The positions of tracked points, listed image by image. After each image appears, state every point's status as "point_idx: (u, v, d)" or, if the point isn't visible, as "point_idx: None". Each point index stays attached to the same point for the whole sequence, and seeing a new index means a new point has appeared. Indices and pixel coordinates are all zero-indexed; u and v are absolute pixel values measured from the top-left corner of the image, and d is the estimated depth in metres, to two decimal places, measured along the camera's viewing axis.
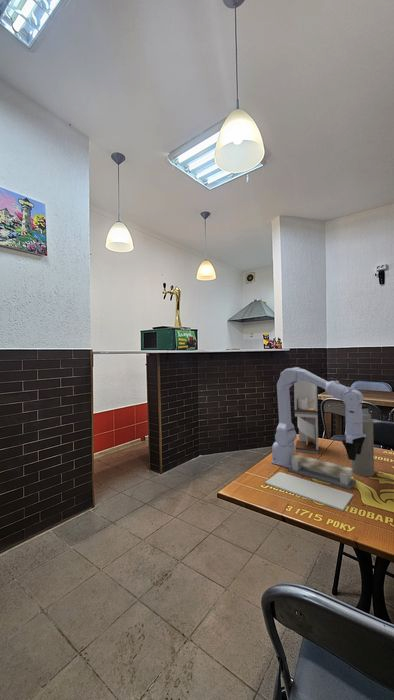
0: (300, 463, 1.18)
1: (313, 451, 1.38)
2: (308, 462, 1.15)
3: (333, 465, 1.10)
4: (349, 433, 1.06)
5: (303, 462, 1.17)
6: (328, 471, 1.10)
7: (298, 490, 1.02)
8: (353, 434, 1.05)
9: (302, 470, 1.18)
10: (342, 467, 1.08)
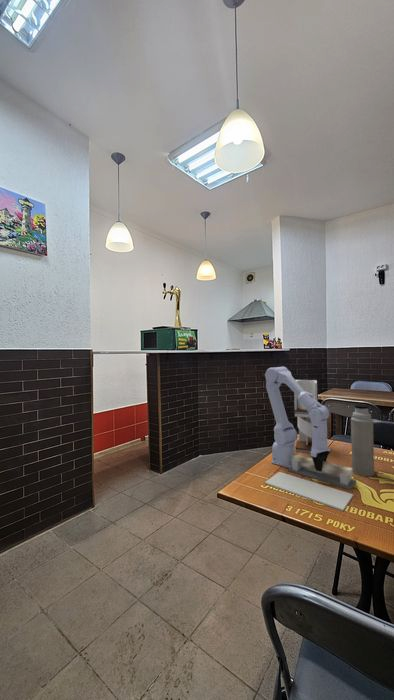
0: (300, 463, 1.18)
1: None
2: (308, 462, 1.15)
3: (333, 465, 1.10)
4: (315, 447, 1.12)
5: (303, 462, 1.17)
6: (328, 471, 1.10)
7: (298, 490, 1.02)
8: (318, 448, 1.11)
9: (302, 470, 1.18)
10: (342, 467, 1.08)
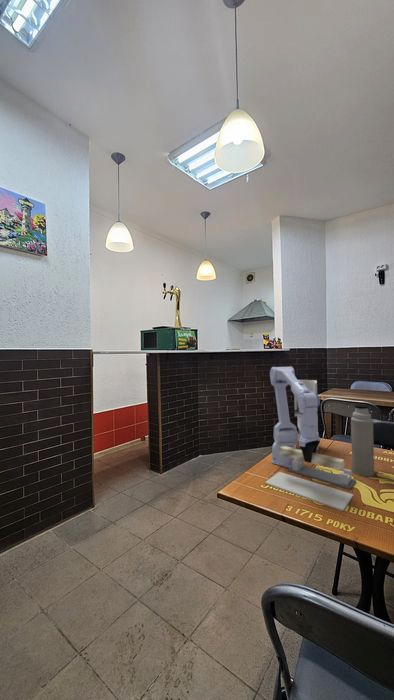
0: (288, 455, 1.09)
1: None
2: (297, 454, 1.07)
3: (323, 457, 1.01)
4: (303, 436, 1.04)
5: (291, 454, 1.08)
6: (318, 463, 1.02)
7: (298, 490, 1.02)
8: (307, 437, 1.03)
9: (302, 470, 1.18)
10: (333, 458, 0.99)
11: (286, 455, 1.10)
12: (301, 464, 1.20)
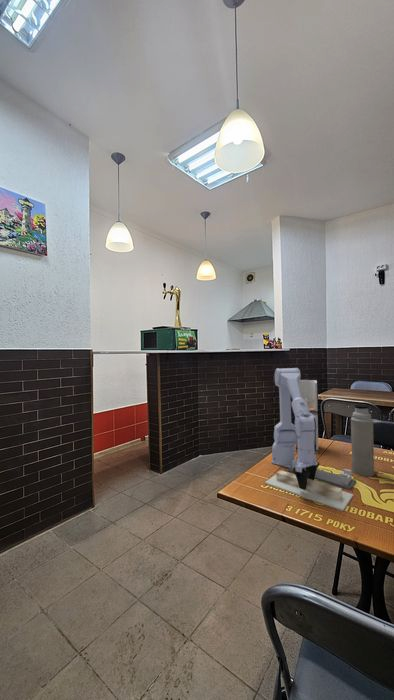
0: (285, 481, 1.07)
1: None
2: (294, 480, 1.05)
3: (321, 484, 0.99)
4: (300, 460, 1.02)
5: (288, 480, 1.06)
6: (315, 491, 1.00)
7: (298, 490, 1.02)
8: (304, 462, 1.01)
9: None
10: (330, 487, 0.97)
11: (283, 480, 1.08)
12: None
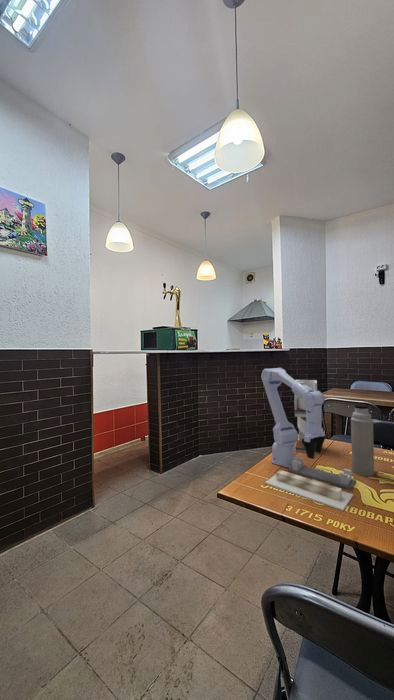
0: (285, 481, 1.07)
1: None
2: (294, 480, 1.05)
3: (321, 484, 0.99)
4: (309, 432, 1.10)
5: (288, 480, 1.06)
6: (315, 491, 1.00)
7: (298, 490, 1.02)
8: (312, 433, 1.09)
9: (302, 470, 1.18)
10: (330, 487, 0.97)
11: (283, 480, 1.08)
12: (301, 464, 1.20)
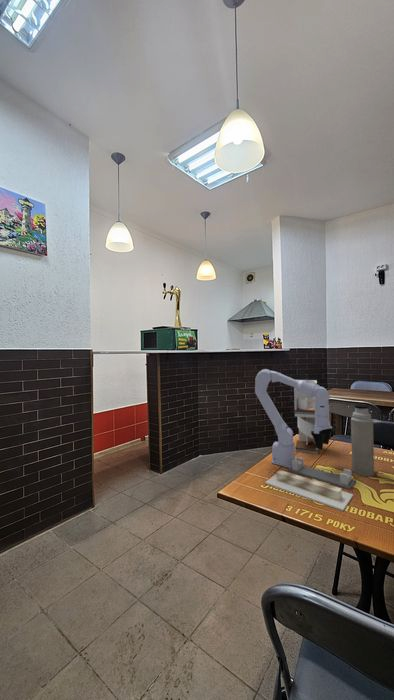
0: (285, 481, 1.07)
1: (313, 451, 1.38)
2: (294, 480, 1.05)
3: (321, 484, 0.99)
4: (317, 425, 1.20)
5: (288, 480, 1.06)
6: (315, 491, 1.00)
7: (298, 490, 1.02)
8: (320, 426, 1.19)
9: (302, 470, 1.18)
10: (330, 487, 0.97)
11: (283, 480, 1.08)
12: (301, 464, 1.20)
